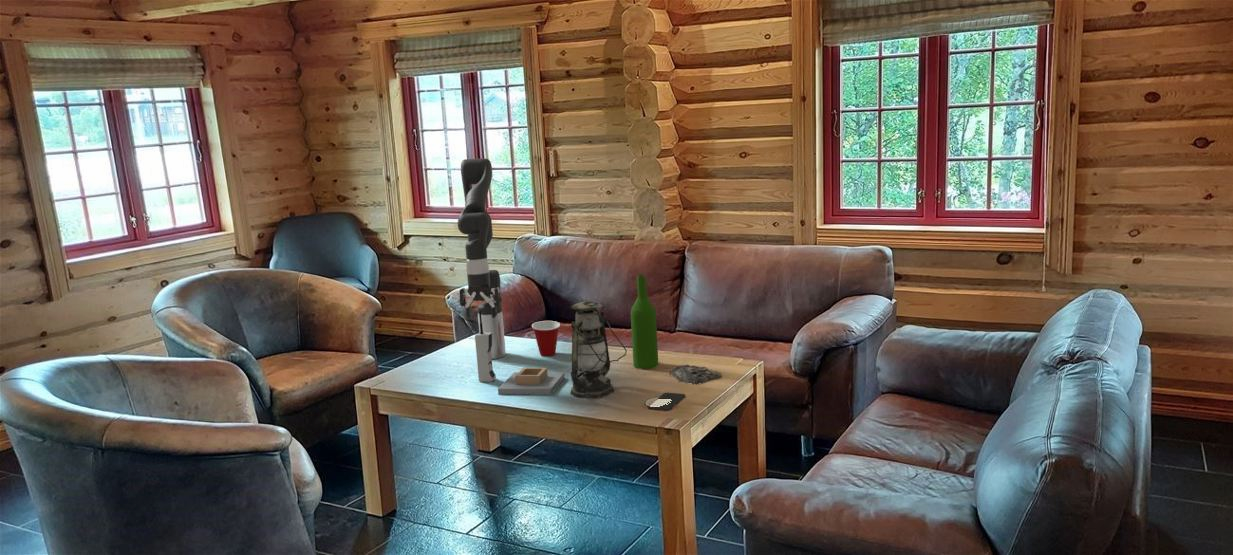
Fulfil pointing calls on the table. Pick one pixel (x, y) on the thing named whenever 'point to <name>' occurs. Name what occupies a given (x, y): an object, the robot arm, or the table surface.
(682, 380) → the geode
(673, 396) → the phone
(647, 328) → the wine bottle
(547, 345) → the plastic cup
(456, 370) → the table surface
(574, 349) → the lantern
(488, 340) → the vintage mobile phone
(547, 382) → the square socket base
